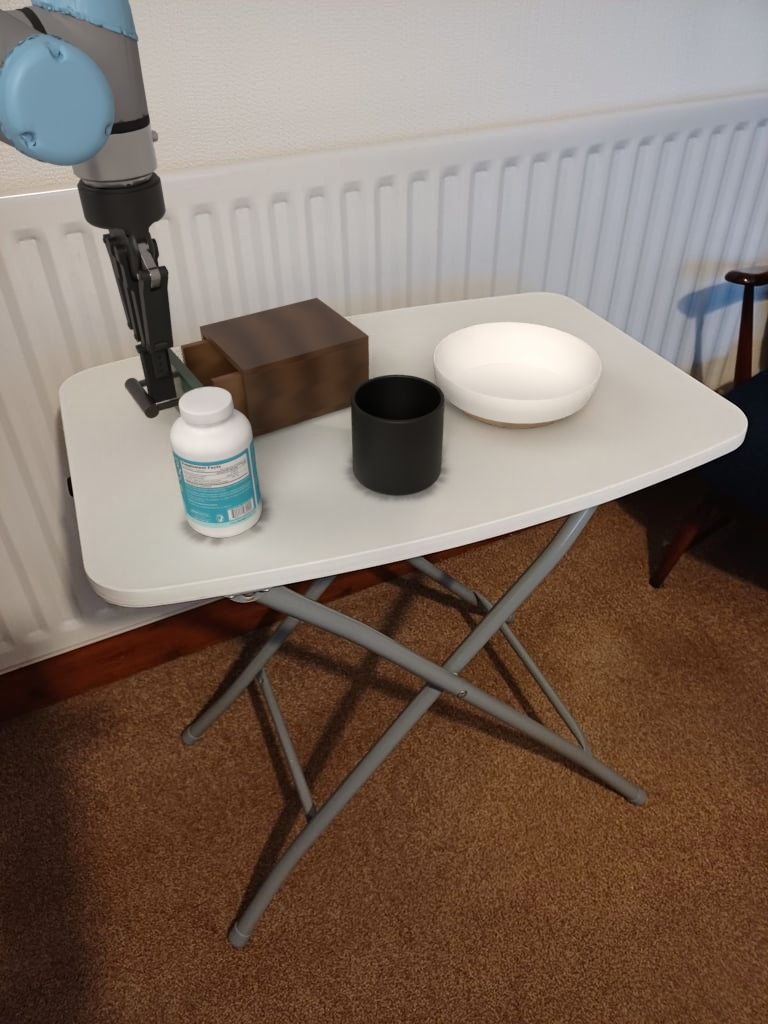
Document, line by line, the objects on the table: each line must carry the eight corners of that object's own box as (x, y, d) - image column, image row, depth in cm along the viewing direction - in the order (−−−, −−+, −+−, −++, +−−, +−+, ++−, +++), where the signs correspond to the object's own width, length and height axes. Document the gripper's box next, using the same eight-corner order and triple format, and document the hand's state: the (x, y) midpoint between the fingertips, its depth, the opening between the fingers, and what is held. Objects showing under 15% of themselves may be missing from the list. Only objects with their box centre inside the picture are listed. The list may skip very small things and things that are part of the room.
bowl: (490, 467, 84) (495, 418, 81) (401, 387, 98) (402, 342, 94) (628, 420, 92) (639, 374, 88) (528, 352, 105) (533, 309, 101)
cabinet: (251, 438, 89) (243, 370, 84) (209, 390, 97) (199, 326, 92) (369, 400, 95) (368, 335, 90) (320, 359, 104) (316, 297, 98)
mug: (473, 459, 86) (480, 386, 80) (399, 509, 79) (400, 433, 73) (409, 427, 91) (411, 356, 85) (334, 471, 84) (331, 397, 78)
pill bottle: (207, 489, 81) (187, 373, 73) (274, 501, 80) (260, 384, 71) (173, 534, 76) (147, 414, 67) (244, 547, 74) (226, 426, 66)
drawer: (159, 456, 84) (147, 402, 80) (126, 410, 92) (113, 357, 88) (318, 407, 92) (315, 354, 88) (276, 367, 100) (271, 317, 96)
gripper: (181, 187, 70) (217, 414, 84) (135, 153, 78) (174, 365, 93) (97, 201, 67) (149, 434, 81) (58, 164, 75) (112, 382, 90)
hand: (163, 397), depth 87 cm, fingers closed
